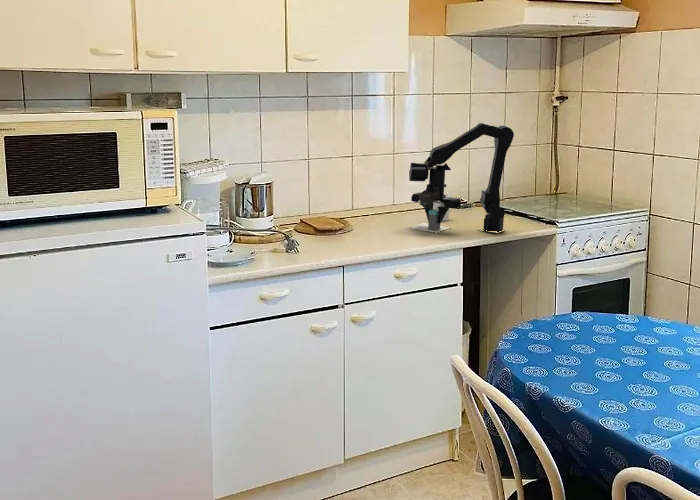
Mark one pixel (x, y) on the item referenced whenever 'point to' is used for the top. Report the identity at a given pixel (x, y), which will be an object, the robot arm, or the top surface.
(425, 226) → the paper
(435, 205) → the white cup
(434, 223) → the cylinder
